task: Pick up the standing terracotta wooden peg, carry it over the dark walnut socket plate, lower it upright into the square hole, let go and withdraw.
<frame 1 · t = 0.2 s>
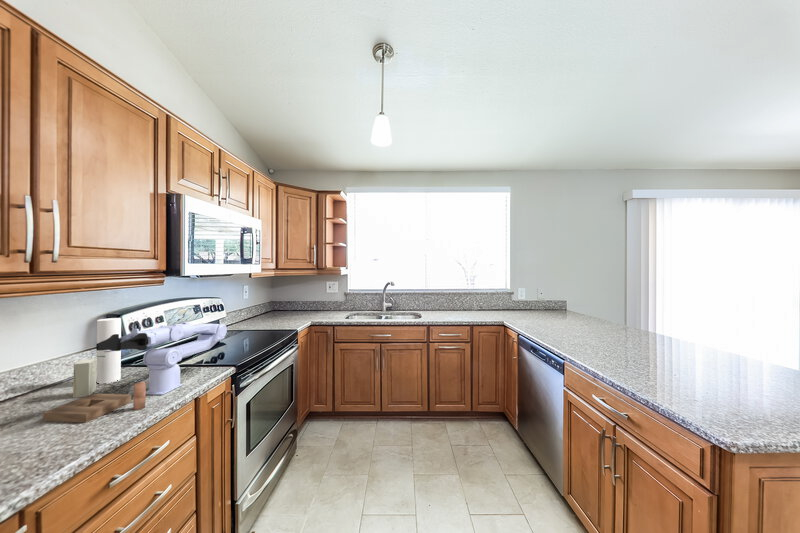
hand: (108, 346, 95), 21 cm above the counter, tool horizontal, fingers open, 7 cm apart
walnut socket plate: (90, 410, 98), on the counter
skincare box: (85, 394, 111), on the counter
terracotta peg: (139, 408, 100), on the counter
cylindrical container: (108, 381, 125), on the counter
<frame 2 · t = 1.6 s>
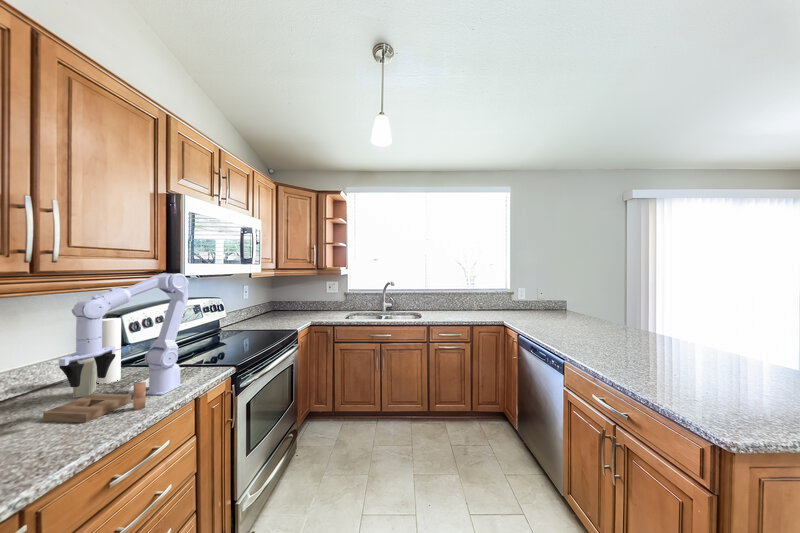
hand: (88, 382, 95), 10 cm above the counter, tool pointing down, fingers open, 7 cm apart
nothing on the counter moved.
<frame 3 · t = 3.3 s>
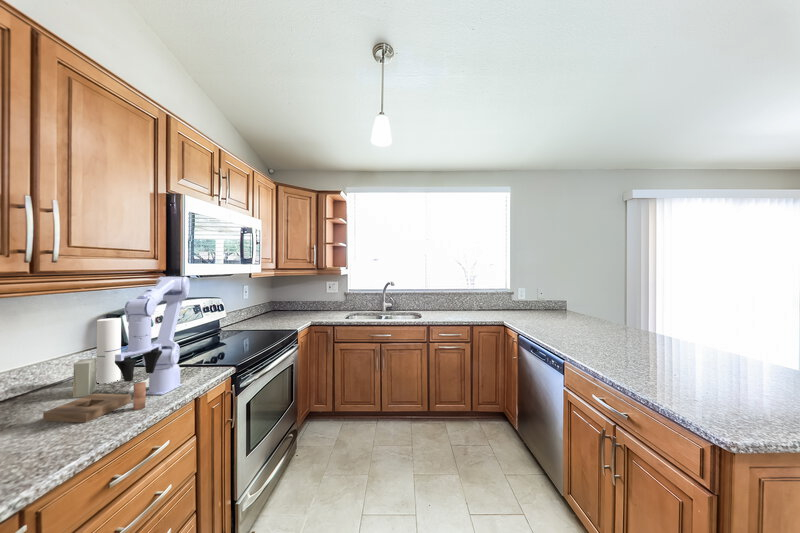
hand: (139, 376, 100), 10 cm above the counter, tool pointing down, fingers open, 7 cm apart
nothing on the counter moved.
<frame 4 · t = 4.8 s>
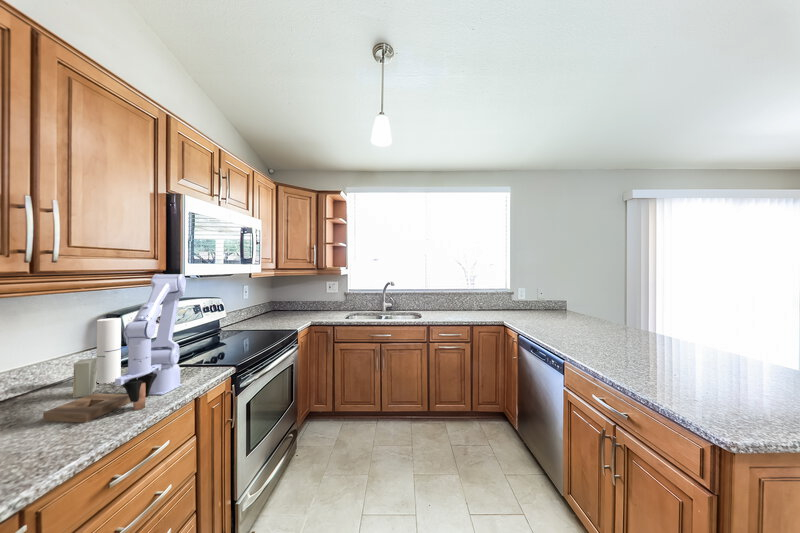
hand: (139, 399, 100), 3 cm above the counter, tool pointing down, fingers closed on terracotta peg, 3 cm apart
terracotta peg: (139, 408, 100), on the counter, touching gripper
everything else where it was.
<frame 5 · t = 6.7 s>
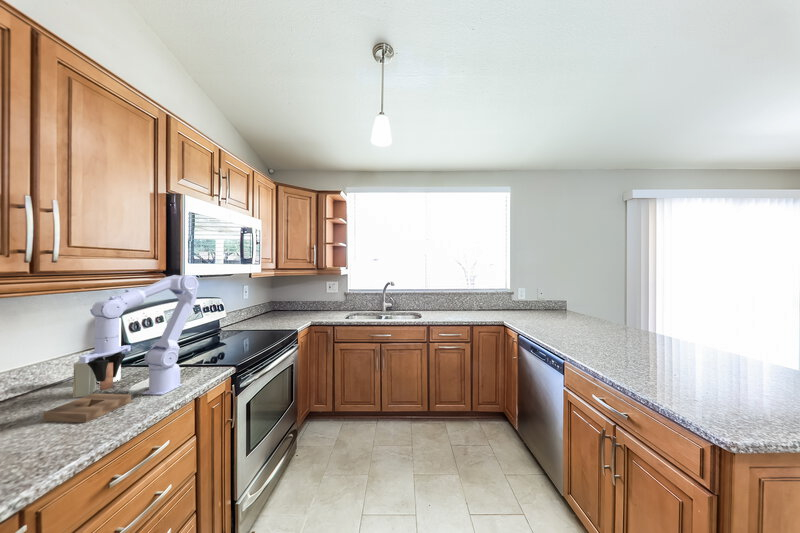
hand: (106, 379, 99), 10 cm above the counter, tool pointing down, fingers closed on terracotta peg, 3 cm apart
terracotta peg: (106, 388, 99), point 7 cm above the counter, touching gripper
everything else where it was.
when the fingers open (4 cm above the counter, at t = 8.9 s): terracotta peg stays where it is, resting in walnut socket plate.
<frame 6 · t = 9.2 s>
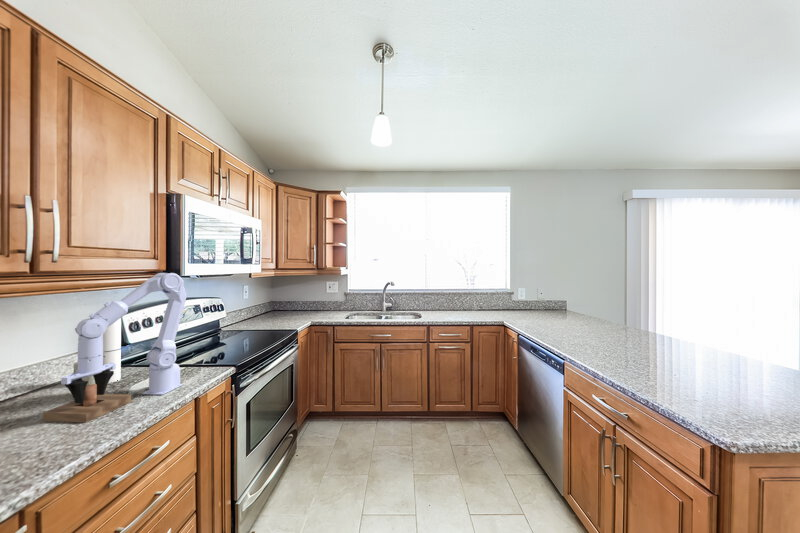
hand: (90, 398, 98), 4 cm above the counter, tool pointing down, fingers open, 6 cm apart
terracotta peg: (90, 410, 98), resting in walnut socket plate
everything else where it was.
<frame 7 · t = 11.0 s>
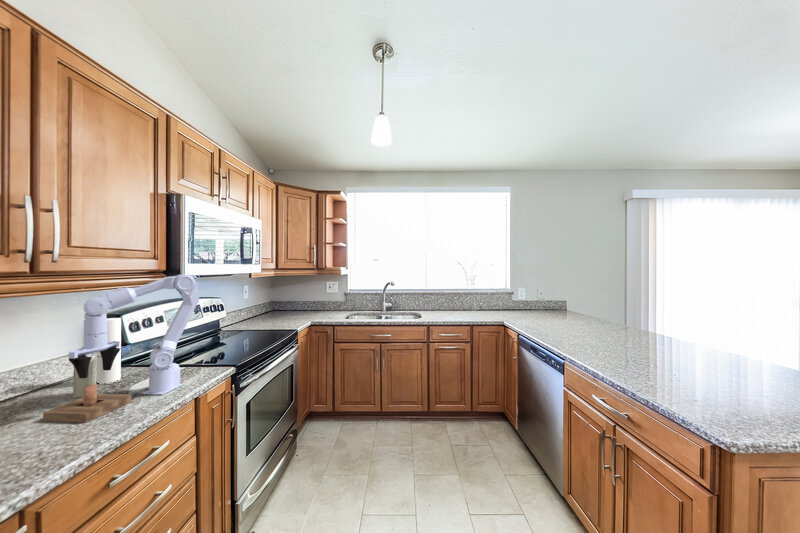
hand: (95, 373, 103), 10 cm above the counter, tool pointing down, fingers open, 7 cm apart
nothing on the counter moved.
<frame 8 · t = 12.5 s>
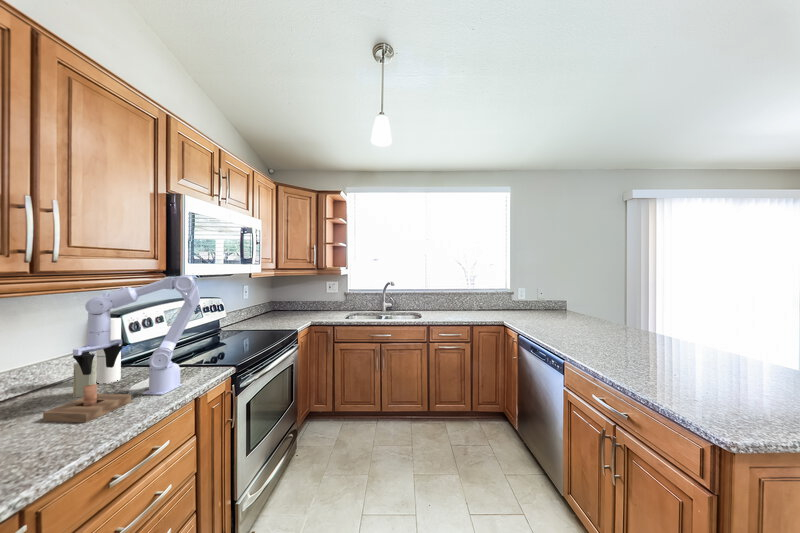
hand: (98, 370, 106), 10 cm above the counter, tool pointing down, fingers open, 7 cm apart
nothing on the counter moved.
at the end: terracotta peg 0.0 cm off-centre on the walnut socket plate, point 0.0 cm above the walnut socket plate's base; terracotta peg tilted 0°; the gripper is holding nothing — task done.
